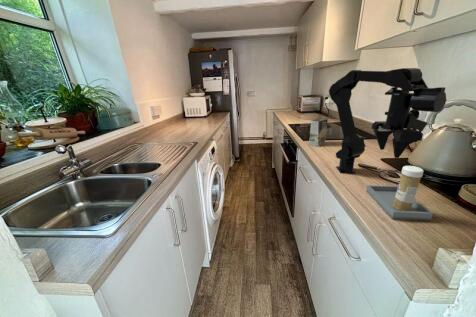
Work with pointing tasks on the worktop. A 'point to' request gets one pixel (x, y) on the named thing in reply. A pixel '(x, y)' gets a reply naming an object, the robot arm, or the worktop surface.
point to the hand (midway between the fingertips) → (388, 153)
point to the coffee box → (318, 132)
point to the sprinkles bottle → (407, 188)
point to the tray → (386, 199)
